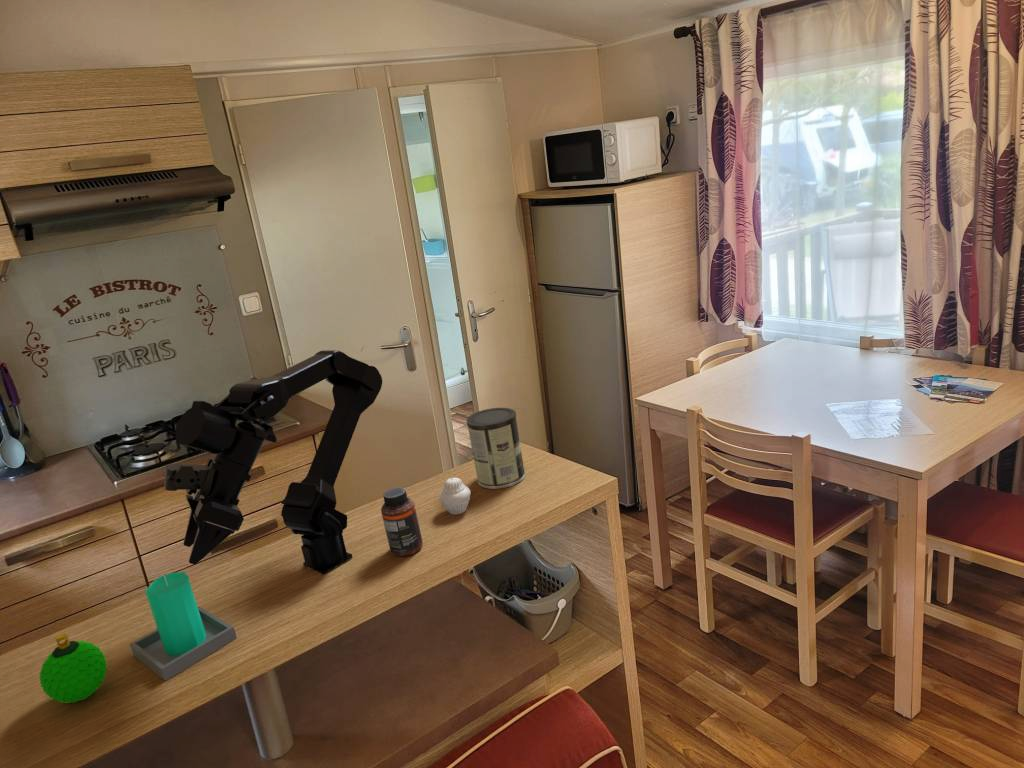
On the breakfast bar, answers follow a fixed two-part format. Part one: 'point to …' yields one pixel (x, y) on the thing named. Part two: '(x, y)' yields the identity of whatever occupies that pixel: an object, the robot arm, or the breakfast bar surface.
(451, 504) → the muffin
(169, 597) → the candle
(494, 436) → the coffee can
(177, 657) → the tray
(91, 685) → the ornament
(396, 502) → the supplement bottle
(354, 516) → the breakfast bar surface
